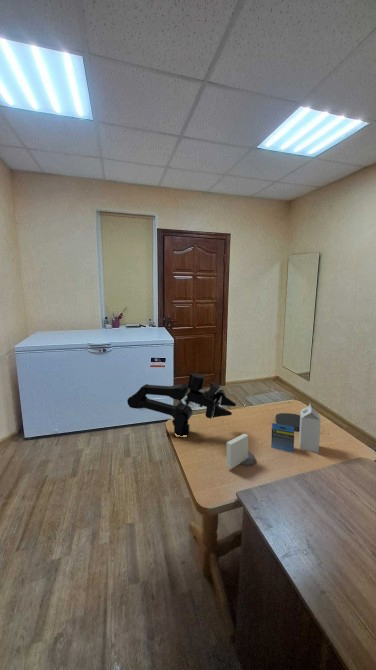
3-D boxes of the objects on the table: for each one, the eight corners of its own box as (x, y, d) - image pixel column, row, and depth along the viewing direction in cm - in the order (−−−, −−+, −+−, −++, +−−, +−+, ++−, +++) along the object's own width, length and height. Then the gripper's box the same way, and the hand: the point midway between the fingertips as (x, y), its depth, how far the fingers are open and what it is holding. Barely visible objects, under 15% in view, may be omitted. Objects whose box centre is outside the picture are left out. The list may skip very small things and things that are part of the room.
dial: (244, 452, 109) (244, 428, 108) (258, 460, 104) (259, 434, 103) (221, 466, 101) (221, 439, 99) (235, 475, 96) (236, 447, 94)
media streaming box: (303, 419, 141) (304, 414, 141) (309, 433, 127) (309, 427, 127) (274, 416, 144) (274, 411, 144) (277, 430, 130) (277, 424, 130)
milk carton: (316, 445, 116) (318, 404, 113) (318, 454, 109) (321, 410, 107) (298, 442, 118) (300, 402, 116) (299, 451, 112) (302, 408, 109)
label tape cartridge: (294, 450, 113) (295, 422, 111) (293, 455, 109) (294, 427, 107) (272, 445, 117) (273, 419, 115) (270, 450, 113) (271, 422, 111)
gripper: (196, 389, 111) (233, 401, 106) (209, 375, 128) (241, 385, 123) (192, 413, 113) (227, 425, 108) (205, 396, 130) (236, 406, 125)
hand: (233, 409), depth 116 cm, fingers open, 9 cm apart
